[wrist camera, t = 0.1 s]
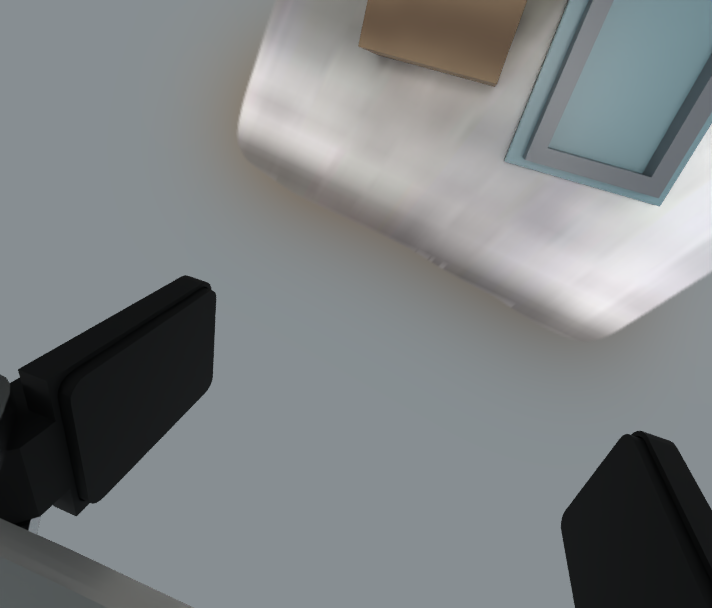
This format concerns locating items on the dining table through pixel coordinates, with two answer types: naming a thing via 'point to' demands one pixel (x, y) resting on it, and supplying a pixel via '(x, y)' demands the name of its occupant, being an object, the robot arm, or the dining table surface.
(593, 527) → the robot arm
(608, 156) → the cradle
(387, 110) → the dining table surface
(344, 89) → the dining table surface
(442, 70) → the walnut block
